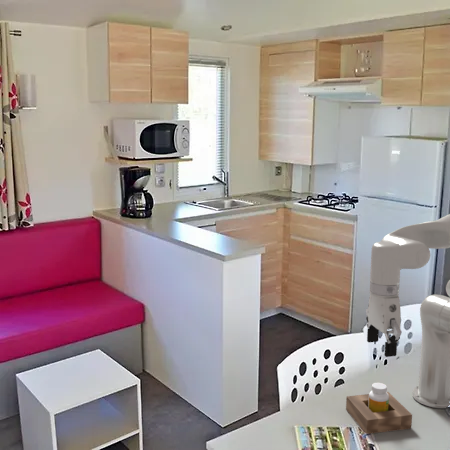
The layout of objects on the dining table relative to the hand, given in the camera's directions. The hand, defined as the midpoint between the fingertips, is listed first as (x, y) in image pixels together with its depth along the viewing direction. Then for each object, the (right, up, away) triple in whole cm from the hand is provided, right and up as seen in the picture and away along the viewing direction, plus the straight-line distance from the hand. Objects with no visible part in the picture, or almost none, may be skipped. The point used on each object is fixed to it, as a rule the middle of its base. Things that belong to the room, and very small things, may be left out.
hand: (381, 348), depth 151 cm
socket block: (0, -20, +3) cm, 20 cm away
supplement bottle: (0, -20, +3) cm, 21 cm away
